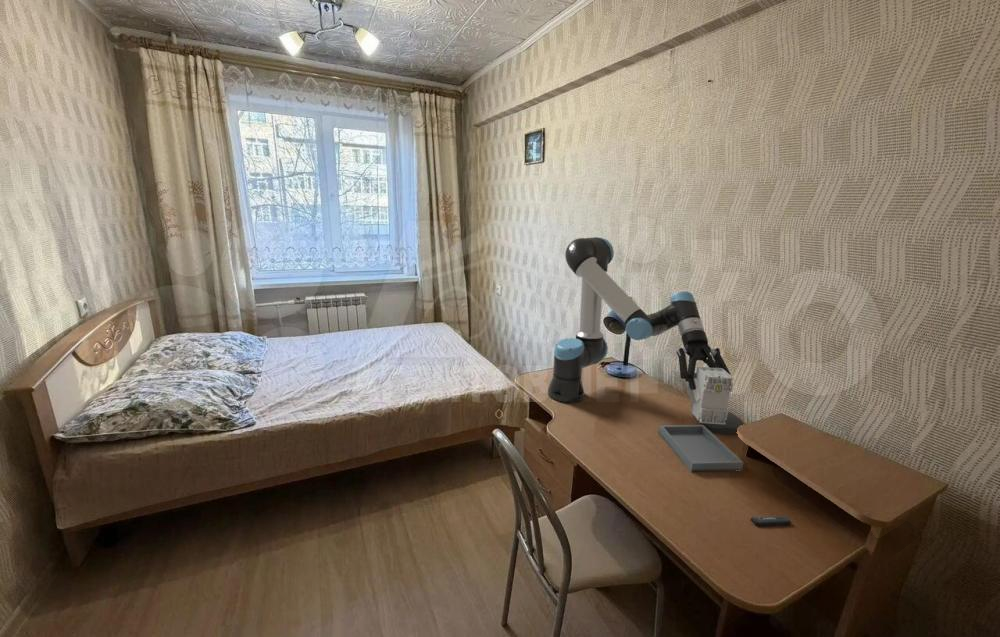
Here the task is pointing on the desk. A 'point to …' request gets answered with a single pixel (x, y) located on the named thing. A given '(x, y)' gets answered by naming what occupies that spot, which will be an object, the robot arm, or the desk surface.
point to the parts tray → (699, 448)
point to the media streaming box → (729, 428)
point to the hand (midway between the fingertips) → (712, 399)
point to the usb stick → (770, 521)
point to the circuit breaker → (711, 395)
